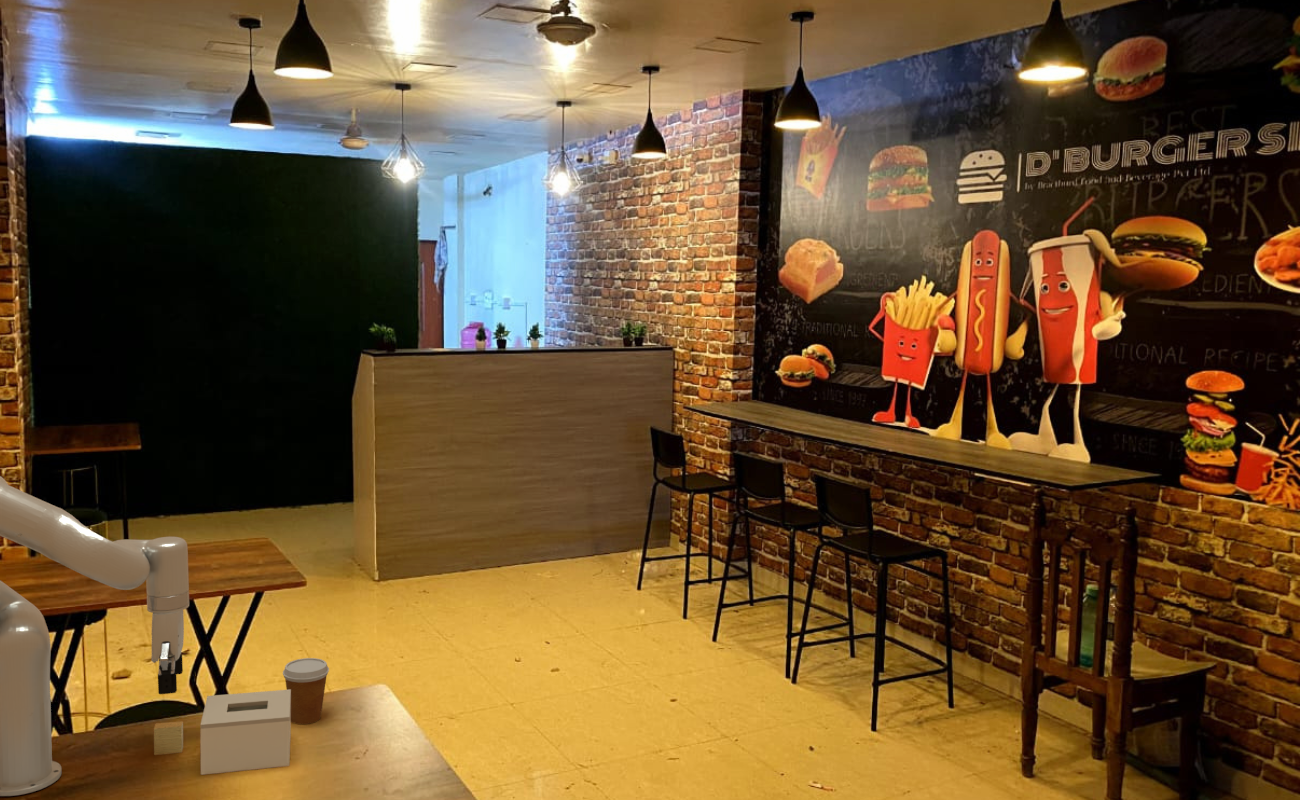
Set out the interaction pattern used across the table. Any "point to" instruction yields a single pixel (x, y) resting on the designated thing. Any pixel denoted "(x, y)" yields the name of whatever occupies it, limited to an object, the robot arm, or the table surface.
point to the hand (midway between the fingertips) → (170, 683)
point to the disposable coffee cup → (306, 688)
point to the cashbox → (246, 731)
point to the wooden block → (168, 738)
